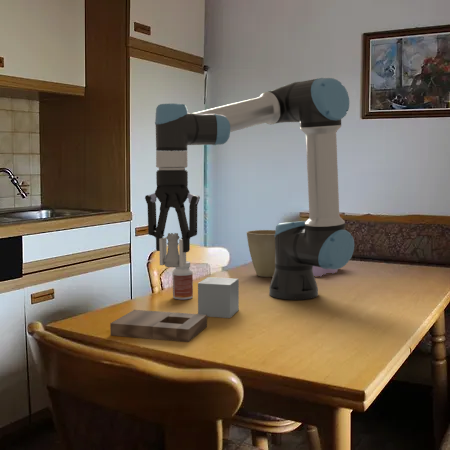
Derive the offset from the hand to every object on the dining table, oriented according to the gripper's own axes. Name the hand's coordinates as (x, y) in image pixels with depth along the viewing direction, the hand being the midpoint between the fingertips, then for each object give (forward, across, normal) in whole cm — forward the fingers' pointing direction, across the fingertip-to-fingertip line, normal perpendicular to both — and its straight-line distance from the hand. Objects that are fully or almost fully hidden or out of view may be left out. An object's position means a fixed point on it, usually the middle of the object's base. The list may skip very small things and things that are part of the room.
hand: (173, 264), depth 152 cm
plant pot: (+17, -6, -79) cm, 81 cm away
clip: (+17, -23, -90) cm, 95 cm away
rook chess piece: (+1, 0, 0) cm, 1 cm away
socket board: (+17, +4, 0) cm, 17 cm away
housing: (+17, -5, -21) cm, 27 cm away
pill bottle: (+17, +11, -36) cm, 41 cm away
